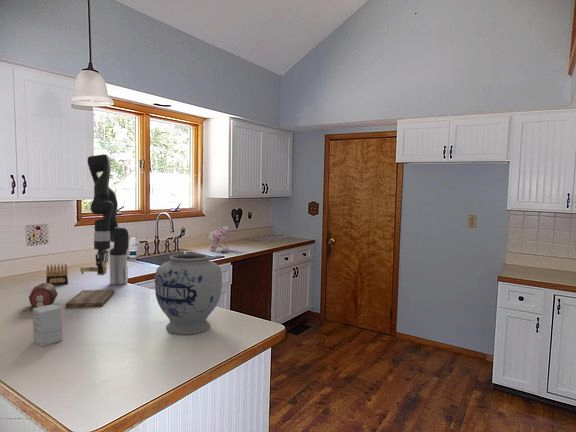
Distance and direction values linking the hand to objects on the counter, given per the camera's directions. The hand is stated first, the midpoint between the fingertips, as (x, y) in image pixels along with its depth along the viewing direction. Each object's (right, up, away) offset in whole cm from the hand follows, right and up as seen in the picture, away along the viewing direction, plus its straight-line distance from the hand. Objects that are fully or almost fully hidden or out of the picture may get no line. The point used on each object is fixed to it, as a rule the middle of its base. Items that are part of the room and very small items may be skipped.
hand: (102, 272), depth 202 cm
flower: (+33, -3, +146) cm, 150 cm away
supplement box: (+7, -17, -57) cm, 60 cm away
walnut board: (-3, -13, -6) cm, 15 cm away
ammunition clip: (-36, -10, +23) cm, 44 cm away
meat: (-20, -14, -17) cm, 30 cm away
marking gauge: (-4, -1, -1) cm, 4 cm away
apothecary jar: (+55, -17, -39) cm, 70 cm away
